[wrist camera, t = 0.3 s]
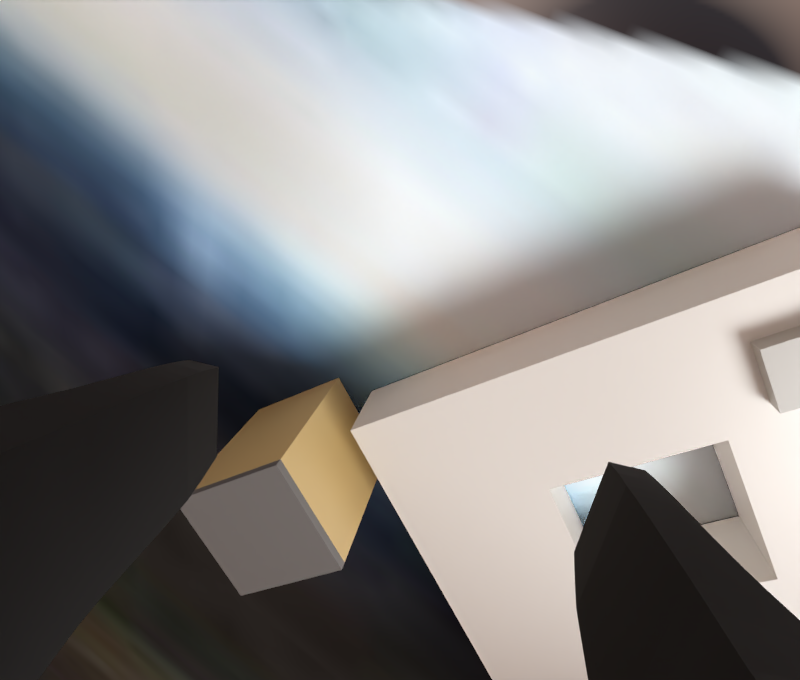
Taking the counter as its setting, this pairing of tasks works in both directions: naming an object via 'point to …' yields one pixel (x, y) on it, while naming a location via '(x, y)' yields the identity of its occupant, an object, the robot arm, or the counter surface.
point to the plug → (285, 492)
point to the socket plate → (596, 444)
